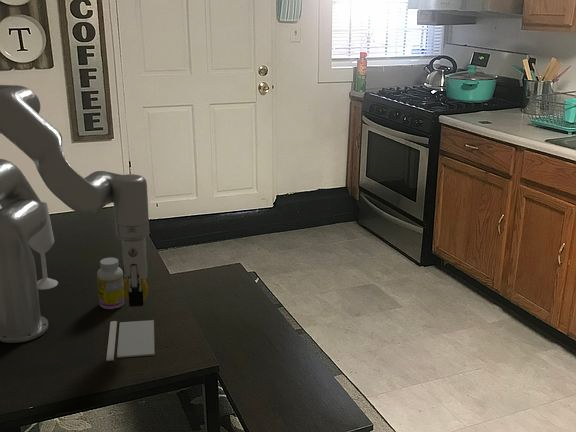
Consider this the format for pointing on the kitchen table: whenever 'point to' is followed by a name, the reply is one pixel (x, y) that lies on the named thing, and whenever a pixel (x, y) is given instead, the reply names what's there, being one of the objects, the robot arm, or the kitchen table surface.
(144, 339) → the mat
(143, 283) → the lemon
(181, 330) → the kitchen table surface
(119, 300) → the supplement bottle
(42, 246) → the champagne flute
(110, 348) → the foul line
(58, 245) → the kitchen table surface
